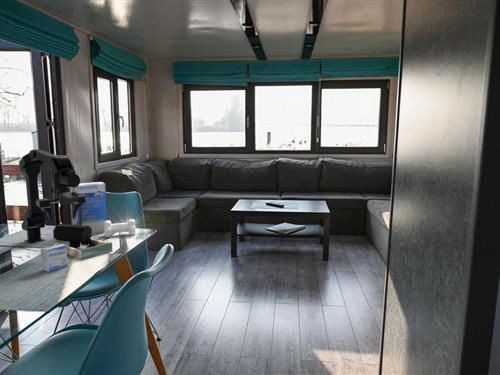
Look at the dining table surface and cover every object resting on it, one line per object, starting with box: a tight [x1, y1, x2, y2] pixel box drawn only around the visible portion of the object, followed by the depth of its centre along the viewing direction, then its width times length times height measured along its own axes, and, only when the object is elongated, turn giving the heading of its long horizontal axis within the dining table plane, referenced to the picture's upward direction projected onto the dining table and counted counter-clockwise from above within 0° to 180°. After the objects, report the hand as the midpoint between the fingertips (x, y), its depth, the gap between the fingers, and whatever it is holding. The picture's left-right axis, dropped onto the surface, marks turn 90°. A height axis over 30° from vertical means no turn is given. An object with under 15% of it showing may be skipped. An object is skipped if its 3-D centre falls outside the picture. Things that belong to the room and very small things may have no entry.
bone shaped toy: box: [103, 218, 136, 238], centre depth 196 cm, size 15×9×8 cm, turn 108°
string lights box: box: [75, 181, 108, 235], centre depth 199 cm, size 13×8×26 cm, turn 124°
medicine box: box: [40, 243, 68, 273], centre depth 149 cm, size 8×4×9 cm, turn 148°
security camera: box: [52, 223, 95, 249], centre depth 175 cm, size 7×18×10 cm, turn 78°
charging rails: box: [52, 237, 113, 260], centre depth 172 cm, size 24×14×4 cm, turn 53°
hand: (62, 220), depth 167 cm, fingers open, 9 cm apart
